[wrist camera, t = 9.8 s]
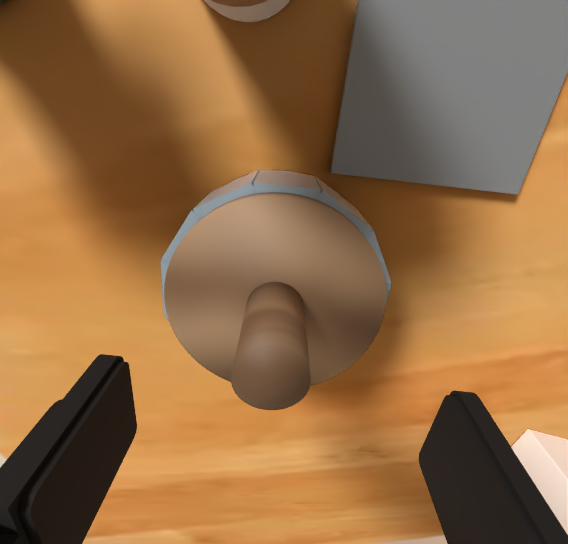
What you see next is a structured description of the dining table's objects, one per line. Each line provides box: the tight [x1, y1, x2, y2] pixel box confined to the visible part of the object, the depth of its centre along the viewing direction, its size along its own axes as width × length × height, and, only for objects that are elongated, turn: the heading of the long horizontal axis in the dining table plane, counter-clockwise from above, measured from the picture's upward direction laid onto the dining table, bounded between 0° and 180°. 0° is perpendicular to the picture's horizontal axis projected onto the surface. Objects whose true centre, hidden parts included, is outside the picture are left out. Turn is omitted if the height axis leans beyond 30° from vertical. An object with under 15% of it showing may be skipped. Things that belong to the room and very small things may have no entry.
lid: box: [164, 192, 386, 410], centre depth 14 cm, size 11×11×6 cm
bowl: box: [161, 169, 391, 321], centre depth 19 cm, size 12×12×5 cm
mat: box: [330, 0, 568, 194], centre depth 17 cm, size 11×9×1 cm
